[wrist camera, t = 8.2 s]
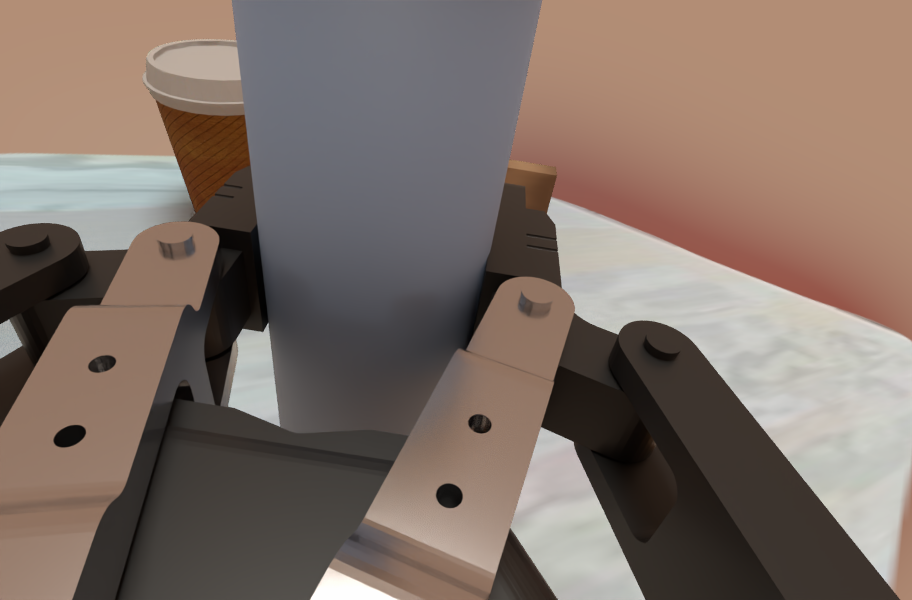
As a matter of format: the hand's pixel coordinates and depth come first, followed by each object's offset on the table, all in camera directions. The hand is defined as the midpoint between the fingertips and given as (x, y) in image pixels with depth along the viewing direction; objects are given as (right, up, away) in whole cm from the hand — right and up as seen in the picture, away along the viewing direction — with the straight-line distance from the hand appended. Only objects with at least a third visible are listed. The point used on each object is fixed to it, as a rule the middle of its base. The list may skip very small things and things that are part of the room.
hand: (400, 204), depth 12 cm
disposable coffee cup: (-16, +4, +31) cm, 35 cm away
